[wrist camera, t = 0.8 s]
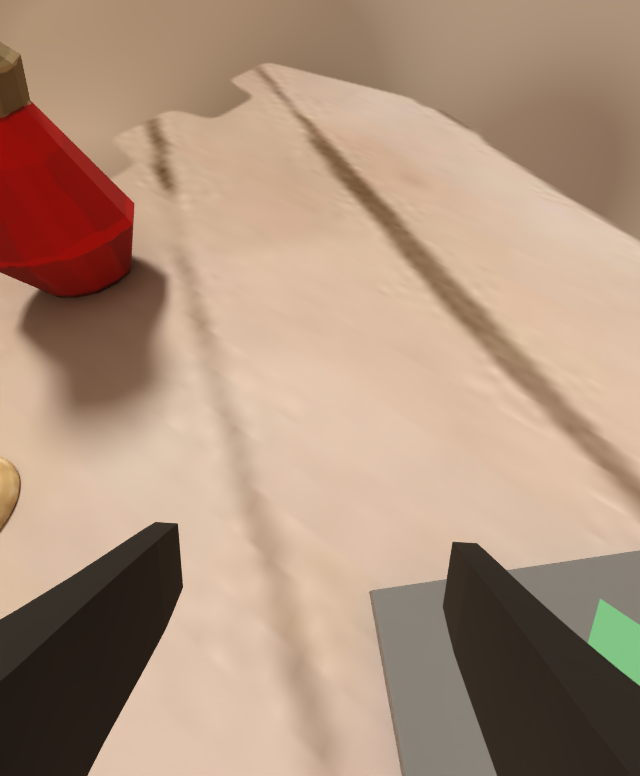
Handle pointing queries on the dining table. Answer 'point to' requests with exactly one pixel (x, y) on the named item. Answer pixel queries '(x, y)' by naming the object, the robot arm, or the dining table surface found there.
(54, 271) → the bottle
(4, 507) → the hand bell
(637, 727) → the robot arm
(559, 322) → the dining table surface
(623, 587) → the dial board
